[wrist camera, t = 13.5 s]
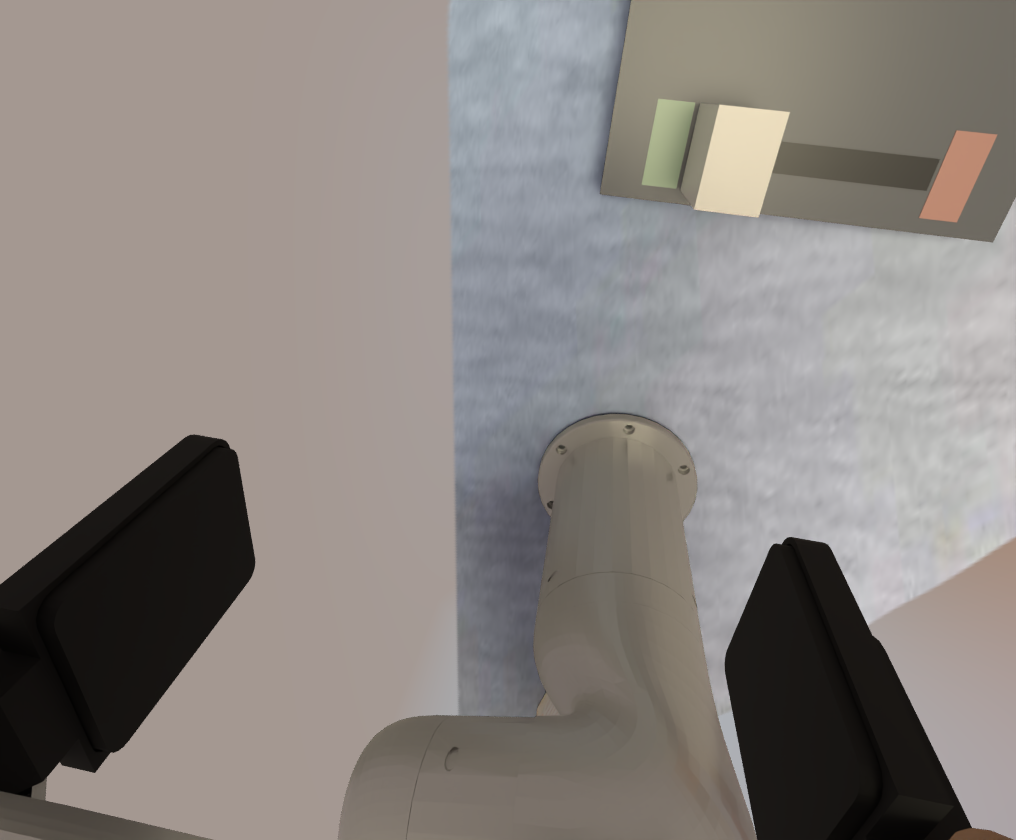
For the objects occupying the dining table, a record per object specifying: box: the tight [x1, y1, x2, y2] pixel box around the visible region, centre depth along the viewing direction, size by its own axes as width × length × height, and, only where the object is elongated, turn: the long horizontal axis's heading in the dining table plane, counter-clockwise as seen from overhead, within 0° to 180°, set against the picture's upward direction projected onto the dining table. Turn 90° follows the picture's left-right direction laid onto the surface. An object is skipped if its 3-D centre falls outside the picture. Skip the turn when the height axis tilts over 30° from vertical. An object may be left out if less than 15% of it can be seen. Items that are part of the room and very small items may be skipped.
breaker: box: [681, 103, 790, 218], centre depth 29 cm, size 4×3×7 cm
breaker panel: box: [600, 0, 1016, 242], centre depth 30 cm, size 18×22×3 cm
